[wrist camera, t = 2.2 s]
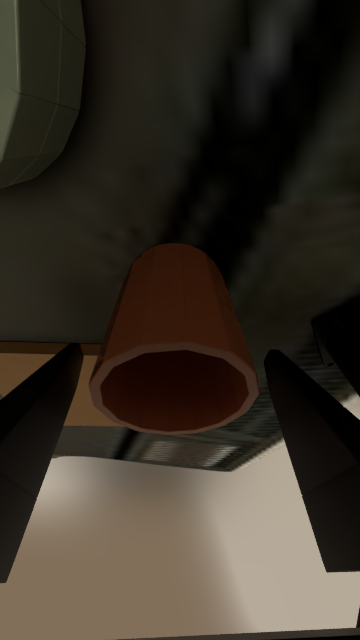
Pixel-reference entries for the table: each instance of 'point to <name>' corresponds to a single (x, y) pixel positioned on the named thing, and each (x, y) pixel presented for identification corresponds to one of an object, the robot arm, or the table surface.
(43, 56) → the bowl
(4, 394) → the notebook
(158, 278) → the cup
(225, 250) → the table surface
